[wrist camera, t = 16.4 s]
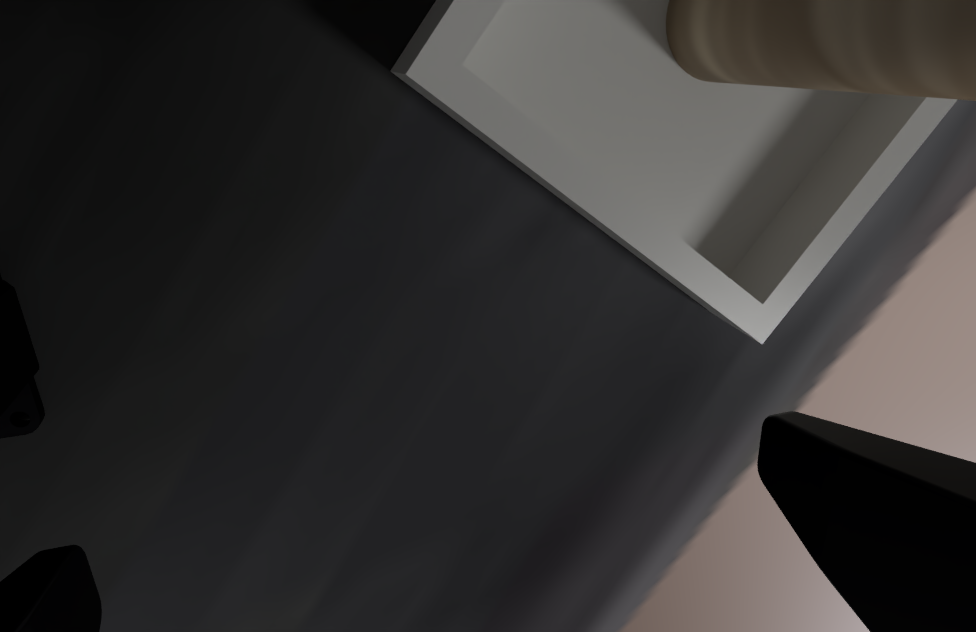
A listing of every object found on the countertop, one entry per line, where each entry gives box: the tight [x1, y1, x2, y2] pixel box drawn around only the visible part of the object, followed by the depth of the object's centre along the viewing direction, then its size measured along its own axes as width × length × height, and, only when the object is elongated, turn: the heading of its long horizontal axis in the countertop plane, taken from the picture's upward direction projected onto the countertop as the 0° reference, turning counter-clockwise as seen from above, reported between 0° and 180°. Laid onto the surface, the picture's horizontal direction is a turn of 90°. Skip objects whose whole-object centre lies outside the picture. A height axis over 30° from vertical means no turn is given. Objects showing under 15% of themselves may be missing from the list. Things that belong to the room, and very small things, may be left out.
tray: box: [391, 0, 958, 344], centre depth 19 cm, size 14×14×3 cm
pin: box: [666, 0, 976, 101], centre depth 14 cm, size 4×4×12 cm
